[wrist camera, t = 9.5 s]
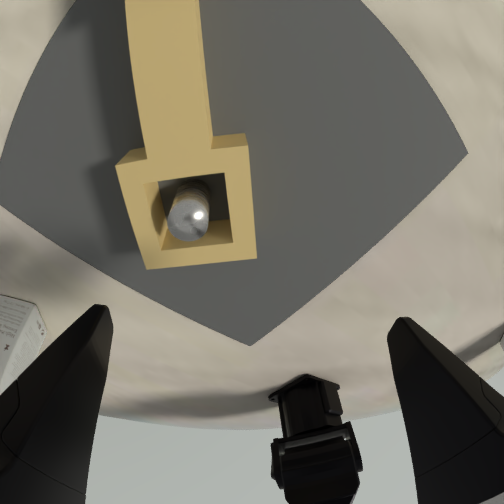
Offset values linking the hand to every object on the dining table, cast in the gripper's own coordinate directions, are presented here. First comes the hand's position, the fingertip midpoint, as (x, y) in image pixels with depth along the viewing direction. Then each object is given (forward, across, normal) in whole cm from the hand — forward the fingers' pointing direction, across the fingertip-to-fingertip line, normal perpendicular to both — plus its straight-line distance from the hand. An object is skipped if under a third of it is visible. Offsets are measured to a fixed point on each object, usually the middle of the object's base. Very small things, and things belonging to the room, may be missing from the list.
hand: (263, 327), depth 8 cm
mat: (+11, +2, -2) cm, 11 cm away
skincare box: (+11, +21, +14) cm, 27 cm away
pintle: (+10, +3, +1) cm, 11 cm away
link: (+10, +4, -4) cm, 12 cm away
